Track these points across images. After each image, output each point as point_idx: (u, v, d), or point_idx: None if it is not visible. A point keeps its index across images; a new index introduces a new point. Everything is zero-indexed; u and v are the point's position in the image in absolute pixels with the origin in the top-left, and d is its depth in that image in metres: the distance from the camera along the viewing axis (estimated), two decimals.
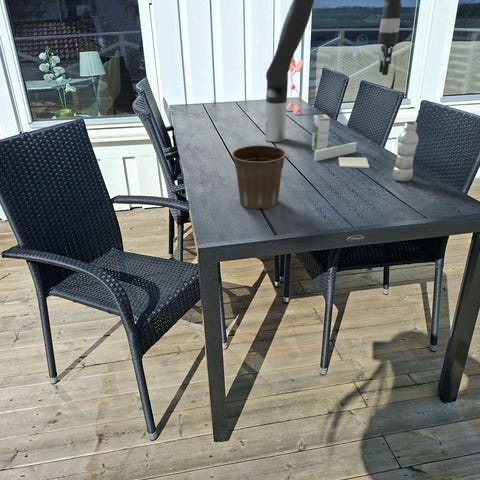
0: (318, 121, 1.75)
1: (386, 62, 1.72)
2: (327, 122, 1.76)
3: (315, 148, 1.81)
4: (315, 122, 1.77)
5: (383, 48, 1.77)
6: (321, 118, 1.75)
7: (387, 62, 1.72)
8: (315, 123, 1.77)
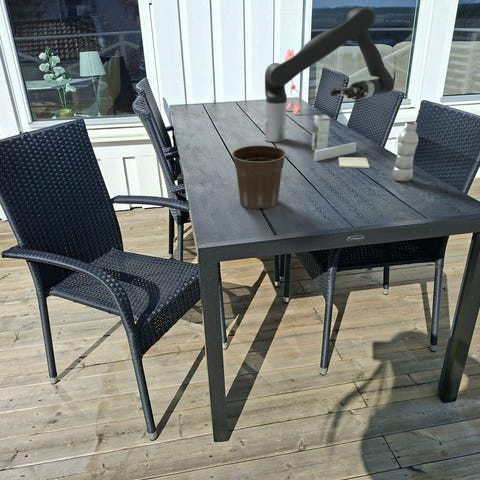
0: (318, 121, 1.75)
1: (360, 93, 1.78)
2: (327, 122, 1.76)
3: (315, 148, 1.81)
4: (315, 122, 1.77)
5: None
6: (321, 118, 1.75)
7: (360, 94, 1.79)
8: (315, 123, 1.77)
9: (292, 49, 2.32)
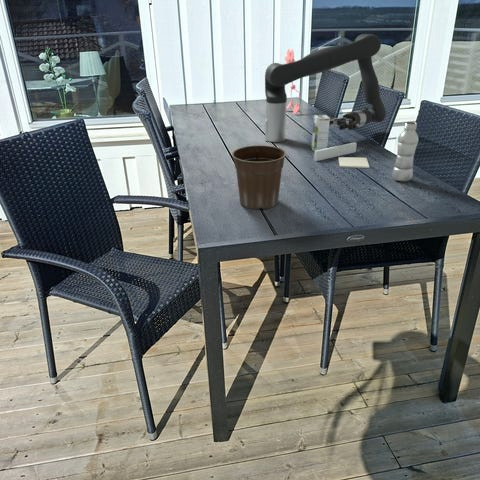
0: (318, 121, 1.75)
1: (352, 125, 1.83)
2: (327, 122, 1.76)
3: (315, 148, 1.81)
4: (315, 122, 1.77)
5: (343, 119, 1.90)
6: (321, 118, 1.75)
7: (352, 126, 1.83)
8: (315, 123, 1.77)
9: (292, 49, 2.32)
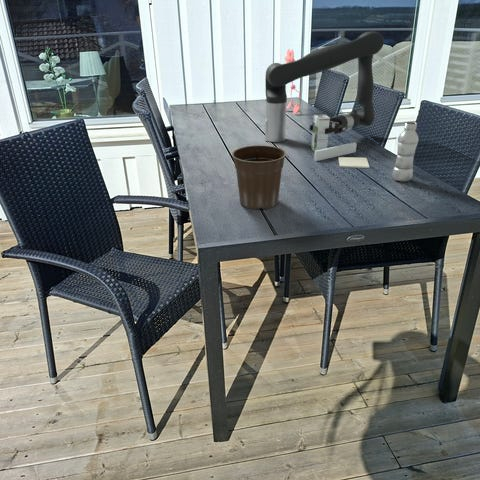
0: (318, 121, 1.75)
1: (338, 129, 1.77)
2: (327, 122, 1.76)
3: (315, 148, 1.81)
4: (315, 122, 1.77)
5: (330, 122, 1.85)
6: (321, 118, 1.75)
7: (338, 130, 1.77)
8: (315, 123, 1.77)
9: (292, 49, 2.32)
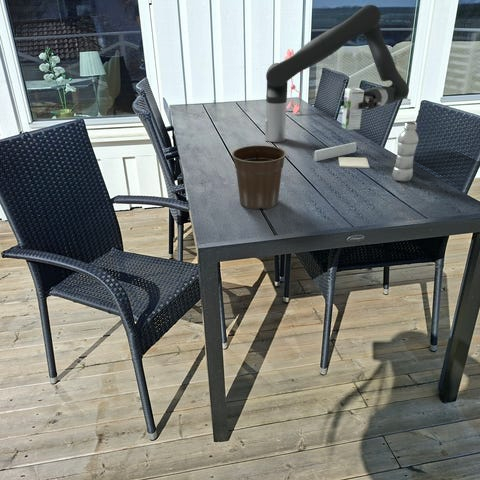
0: (351, 95, 1.57)
1: (373, 103, 1.58)
2: (361, 96, 1.57)
3: (347, 126, 1.62)
4: (347, 96, 1.58)
5: None
6: (354, 91, 1.56)
7: (373, 104, 1.58)
8: (347, 97, 1.58)
9: (292, 49, 2.32)
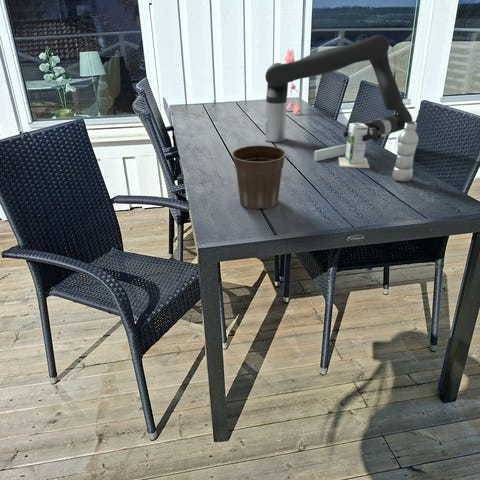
0: (355, 130, 1.59)
1: (377, 136, 1.59)
2: (365, 131, 1.59)
3: (350, 160, 1.64)
4: (351, 131, 1.60)
5: None
6: (358, 127, 1.58)
7: (377, 137, 1.60)
8: (351, 132, 1.60)
9: (292, 49, 2.32)
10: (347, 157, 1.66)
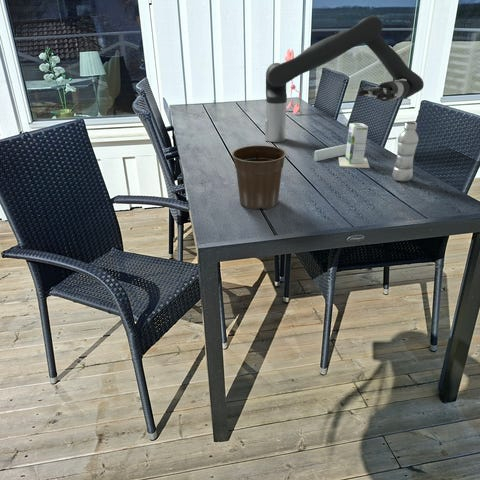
0: (355, 130, 1.59)
1: (391, 94, 1.67)
2: (365, 131, 1.59)
3: (351, 160, 1.64)
4: (351, 131, 1.60)
5: (379, 89, 1.75)
6: (358, 127, 1.58)
7: (390, 95, 1.67)
8: (351, 132, 1.60)
9: (292, 49, 2.32)
10: (347, 157, 1.66)
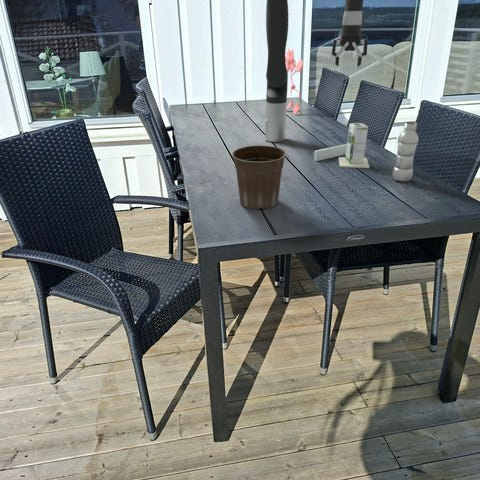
0: (355, 130, 1.59)
1: None
2: (365, 131, 1.59)
3: (351, 160, 1.64)
4: (351, 131, 1.60)
5: (347, 41, 1.75)
6: (358, 127, 1.58)
7: None
8: (351, 132, 1.60)
9: (292, 49, 2.32)
10: (347, 157, 1.66)
